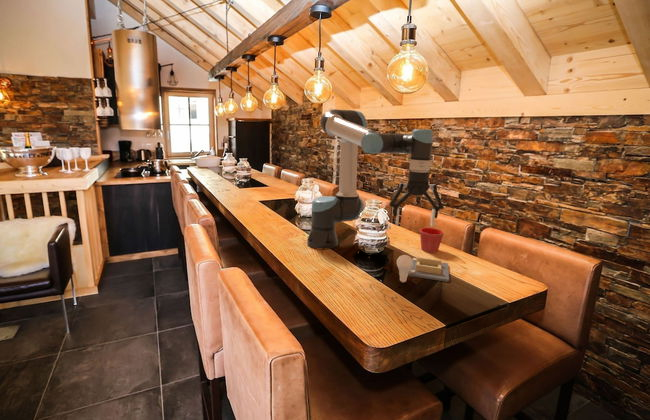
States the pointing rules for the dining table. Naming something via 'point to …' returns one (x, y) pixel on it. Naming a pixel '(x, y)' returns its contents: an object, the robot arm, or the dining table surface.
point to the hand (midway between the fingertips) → (414, 225)
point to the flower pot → (430, 239)
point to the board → (429, 269)
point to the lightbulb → (404, 266)
